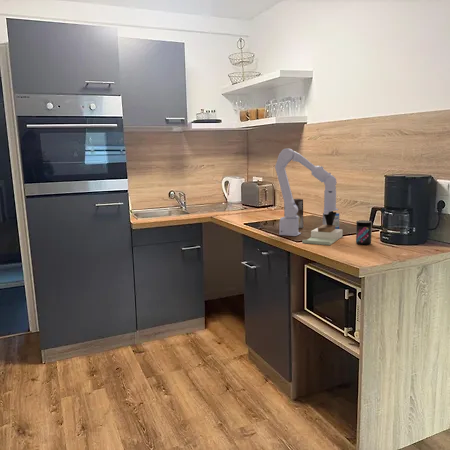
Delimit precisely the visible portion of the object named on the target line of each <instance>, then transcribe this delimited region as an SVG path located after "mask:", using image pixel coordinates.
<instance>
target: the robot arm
mask: <svg viewBox="0 0 450 450" xmlns="http://www.w3.org/2000/svg"><path fill="white" fill-rule="evenodd" d="M291 161H292V162H297V163H299V164H301V165H302V166H304V167H305V168H306V169H308V170H309V171H310V172H311V176H313V177H314V178H315V179H316V180H317V181H319V182H321V183H323V184H324V191H323V192H324V199H323V200H324V201H323V202H324V204H323V206H324V207H323V213H322V215H323V214H324V216H325V219H326V223H327V225H333V221H334V218H335V215H336V213H337V211H339V208H337V187H336V186H337V183H338V182H337V178H336V177H335V176H334V175H332V173H331V172H328V171H327V170H326V169H324V166H322V165H321V166H320V165H315V164H313V163H312V162H310V161H309V159H308V158H306V156H305V157H304V156H303V155H302V154H301V153H299V152H298V151H295V150H293V149H292V148H283V149H282V150H280V152H279V154H278V156H277V160H276V163H275V166H274V168H275V173H276V176H277V180H278V185H279V186H280V187H279V188H280V190H281V195H282V199H283V207H284V206H285V211H284V210H283V211H284V213H285V215H286V216H284V215H283V216H282V217H280V219H279V223H278V224H279V228H278V229H279V230H278V231H279V232H278V235H279V236H290V237H297V236H299V235H301V234H302V232H299V229H300V228H299V218H298V216H297V213H298V207H297V205H296V204H295V202H294V199H295V198H294V197H293V193H292V190H291V186H290V182H289V177H288V174H287V171H286V167H287V166H288V164H289V163H290V162H291ZM284 213H283V214H284Z"/></svg>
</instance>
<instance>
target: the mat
mask: <svg viewBox="0 0 450 450" xmlns="http://www.w3.org/2000/svg"><path fill="white" fill-rule="evenodd" d="M337 241H338V240H337V239H326V238H313V237H311V236H310V237H309V238H307V239H302V242H301V243H302V244H307V245H318V246H319V245H320V246H332V245H333V244H334V243H336V242H337Z"/></svg>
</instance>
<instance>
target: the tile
mask: <svg viewBox="0 0 450 450" xmlns="http://www.w3.org/2000/svg"><path fill="white" fill-rule="evenodd" d="M317 228H318V232H332V231H333V230H335V225H323V224H322V225H320V226H319V227H317Z"/></svg>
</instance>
